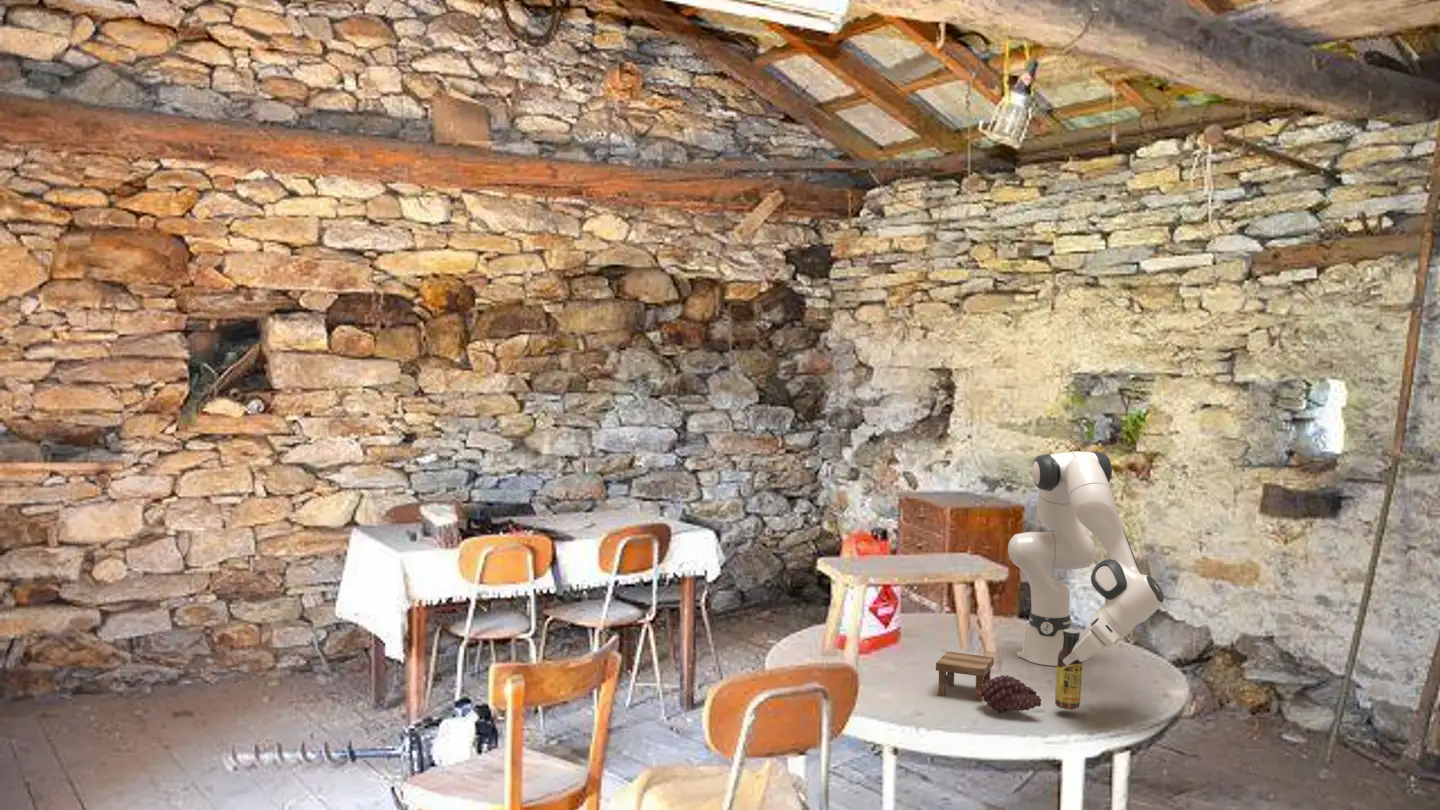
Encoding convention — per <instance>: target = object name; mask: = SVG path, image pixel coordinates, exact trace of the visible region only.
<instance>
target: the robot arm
mask: <svg viewBox="0 0 1440 810" xmlns="http://www.w3.org/2000/svg"><path fill="white" fill-rule="evenodd" d="M1112 474H1113V468H1112V462H1111V459H1110V458H1109V456H1108V455H1107V454H1106V453H1104V452H1100V451H1095V450H1093V451H1076V450H1075V451H1068V452H1058V453H1050V454H1049V453H1043V454H1041V455H1038V456H1036V457H1035V459H1034V460H1033V461H1032V467H1031V477H1032V480H1033V481H1032V482H1033V483H1034V485H1035V486H1036V488H1038V498H1037V506H1036V507H1037V508H1036V515H1037V518H1038V520H1039V521H1040V522H1041V523H1042V524H1043V525H1045V526H1046V527H1047V528H1049V529H1051V530H1053V531H1051V532H1046V531H1044V532H1043V531H1042V532H1041V531H1027V532H1020V533H1015V534H1014V535H1013V536H1012V537H1011V538H1010V539H1009V542H1008V543H1007V554H1008V557H1009V560H1010V561H1011V562H1012V564H1013V565H1015V566H1016V568H1017V567H1018V568H1019V570H1021V572H1022V573H1023V574H1024V576H1025V578H1026V579H1027V581H1028V584H1029V588H1030V599H1031V601H1030V603H1031V604H1030V605H1031V606H1030V607H1031V610H1030V612H1029V616H1028V619H1029V620H1028V623H1029V625H1028V627H1026V628H1025V630H1023V631H1024V632H1023V643H1022V649H1021V650H1018V652H1017V653H1016V656H1017V657H1019V658H1022V659H1024V660H1027V661H1028V662H1030V663H1034V664H1038V665H1044V666H1053V667H1054V666H1055V667H1057V663H1058V655H1059V653H1060V651H1061V650H1062V648H1063V642H1064V636H1063V630H1065V629H1071V626H1072V625H1071V624H1072V623H1071V622H1072V621H1071V620H1072V619H1071V614H1070V596H1071V595H1070V590H1069V588H1068V586H1067V585H1066V584H1065V583H1063V582H1061V581H1060V580H1057V579H1056V578H1054V577H1052V576H1051V575H1050V570H1081V569H1085V568H1089V567H1091V566H1092V564H1093V563H1094V562H1095V559H1096V558H1097V547H1096V544H1095V542H1094V540H1093V539H1092V537H1090V536H1089V535H1087V534H1086V533H1085V532H1084V531H1083V530H1082V529H1081V528H1080V526H1079V523H1078V522H1080V524H1081V525H1083V526H1084V527H1085V529H1087V530H1088V531H1090V532H1091V533H1092V534H1093V535H1094V536H1095V537H1096V538H1097V539H1098V541H1099V542H1100V543H1101V544H1102V546H1103V547H1104V549H1105V551H1106V554H1107V557H1108V558H1107V559H1103V560H1101V561H1099V562H1098V563H1097V564H1096V565H1095V566H1094V568H1093V570H1092V572H1091V575H1090V582H1091V585H1092V587H1093V588H1094V590H1096V592H1097V593H1098V594H1099V595H1100V596H1102V597H1103V598H1105V601H1106V603H1105V604H1104V605H1103V606H1101V607H1100V608H1099V609H1098V610H1096V611H1095V612H1094V613H1093V614H1091V615H1090V620H1091V621H1090V623H1089V624H1088V627H1086V628H1085V629H1084V630H1082V632H1080V637H1079V640H1078V641H1077V642H1076V644H1075V646H1074V648H1073V650H1072V652H1071V653H1070V654H1069V655H1067V656H1066V657H1065V658H1064V659H1063V662H1064V664H1065V665H1069V664H1070V663H1072V662H1073V661H1075V660H1077V659H1078V660H1079V661H1080V662H1082V663H1083V662H1085V661H1087V660H1088V659H1090V658H1091V657H1093V656H1095V655H1096V654H1098V653H1099V652H1101V651H1102V650H1104V649H1105V648H1106V647H1108V648H1110V647H1112V646H1113V645H1116V644H1117V643H1118V642H1119V641H1121V640H1123V639H1124V637H1126V636H1127V635H1129V633H1131V632H1132V631H1133V629H1134V628H1135V627H1136V626H1137V625H1139V624H1142V623H1143V622H1145V621H1146V620H1147V619H1148V618H1150V617H1151V616H1152V615H1154V613H1155V612H1157V611H1158V610H1159V608H1161V606H1162V604H1163V603H1164V599H1165V597H1164V592H1163V589H1162V588H1161V587H1160V585H1159V584H1158V583H1157V581H1156V580H1155V579H1154V578H1153V577H1152V576H1151V575H1148V574H1144V573H1143V572H1142V570H1141V569H1140V568H1139V566H1138V563H1137V561H1136V560H1137V559H1136V558H1135V555H1134V551H1133V549H1132V547H1131V544H1130V541H1129V539H1128V537H1127V534H1126V532H1125V529H1124V527H1123V524H1122V521H1121V518H1120V515H1119V512H1118V510H1117V507H1116V506H1117V505H1116V504H1115V499H1114V495H1113V493H1112V489H1111V487H1110V484H1109V483H1110V482H1111V480H1112V476H1113V475H1112ZM1077 520H1078V521H1077Z"/></svg>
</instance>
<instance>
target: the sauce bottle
mask: <svg viewBox="0 0 1440 810" xmlns="http://www.w3.org/2000/svg"><path fill="white" fill-rule="evenodd" d="M1080 634H1081V632H1080V631H1079V630H1076V629H1072V628H1070V629H1065V630H1063V636H1064V642H1063V648H1062V650H1061V651H1060V653H1059V655H1058V663H1057V666H1056V674H1055V675H1056V677H1055V678H1056V679H1055V692H1054V701H1055V702H1054V704H1055V706H1056V707H1058V708H1059V709H1065V710H1077V709H1079V708H1080V702H1081V696H1082V695H1081V691H1082V675H1083V673H1082V672H1083V662H1080V661H1079V660H1078V659H1077V660H1075V661H1073V662H1072V663H1070V664H1069V665H1065V664H1064V662H1063V659H1064V658H1065V657H1066V656H1067V655H1069V654H1070V653H1071V652H1072V650H1073V648H1074V646H1075V644H1076V642H1077V641H1078V640H1079V637H1080Z"/></svg>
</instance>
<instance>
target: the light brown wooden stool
mask: <svg viewBox="0 0 1440 810" xmlns="http://www.w3.org/2000/svg"><path fill="white" fill-rule="evenodd" d="M994 657H995V656H987V655H980V654H979V655H978V654H971V653H962V652H954V651H946V652H945V653H944V654H943V655H942V656H941V657H940V659H939V660H937V661H936V662H935V671H938V694H937V695H939V696H940V697H946V695H947V692H946V691H947V688H946V687H947V686H948V687H953V686H955V674H961V675H967V676H974V677H975V701H976V702H980V703H981V702H983V701H984V699H983V696H978V695H977V693H978V692H979V691H980V688H981V687H980V686H979V685H984V684H986V683H988V682H990V680H991V669H992V667H993V666H994V665H995V664H994V663H995V658H994Z"/></svg>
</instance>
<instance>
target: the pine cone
mask: <svg viewBox="0 0 1440 810" xmlns="http://www.w3.org/2000/svg"><path fill="white" fill-rule="evenodd" d="M979 686H980V687H981V688H980V691H979V692H978V693H977V695H978V696H983V702H985V703H986V706H987V707H988V708H990V709H991V710H992V711H994V712H996V711H997V713H998V714H1001V713H1006V712H1014V711H1015V712H1019V711H1020V712H1023V711H1029V710H1031V709H1035V707H1041V705H1042V698H1040V695H1037V691H1035V690H1034V689H1033V688H1031V687H1030V686H1026V684H1025V683H1024V682H1021V680H1020V679H1017V678H1015V677H1014V676H1010V675H1002V674H1001V675H1000V676H996V677H994V678H990V682H988V683H986V684H984V685H979Z"/></svg>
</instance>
